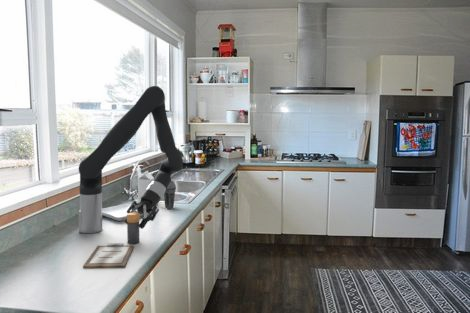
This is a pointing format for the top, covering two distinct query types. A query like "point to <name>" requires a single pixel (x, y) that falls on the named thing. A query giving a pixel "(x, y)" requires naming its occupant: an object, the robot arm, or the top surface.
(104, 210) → the salad plate
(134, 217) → the orange-capped grey cylinder
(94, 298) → the top surface
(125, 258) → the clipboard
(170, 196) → the beverage cup
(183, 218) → the top surface
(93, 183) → the robot arm
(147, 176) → the milk carton
